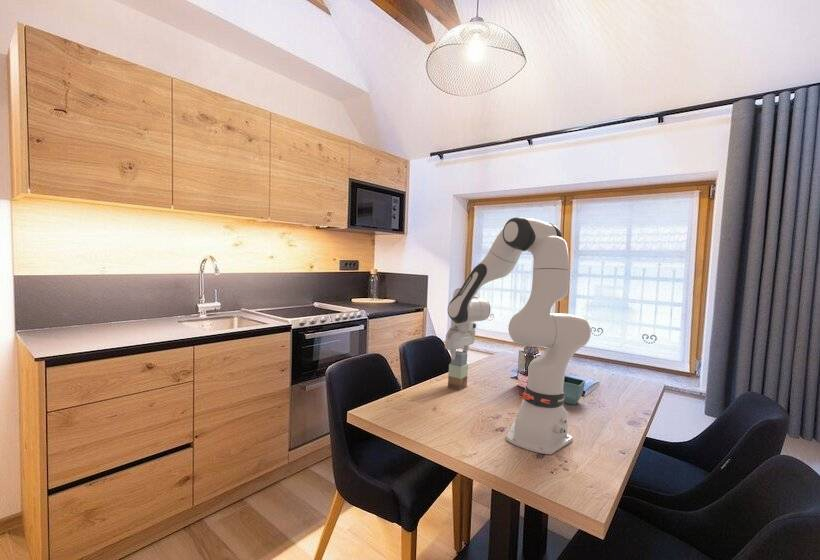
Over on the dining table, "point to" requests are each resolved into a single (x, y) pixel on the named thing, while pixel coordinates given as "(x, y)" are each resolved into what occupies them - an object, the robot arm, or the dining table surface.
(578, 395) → the flower pot
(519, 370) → the candy bar box
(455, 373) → the sage block
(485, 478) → the dining table surface
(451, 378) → the walnut block
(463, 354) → the slate cube
